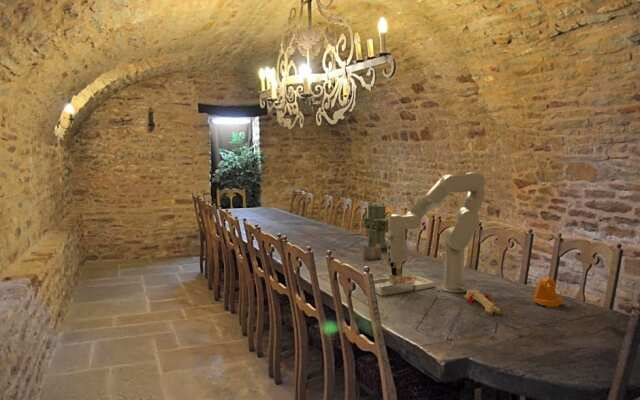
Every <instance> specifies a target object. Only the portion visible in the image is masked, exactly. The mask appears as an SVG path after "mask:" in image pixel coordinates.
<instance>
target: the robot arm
mask: <svg viewBox="0 0 640 400" xmlns="http://www.w3.org/2000/svg"><path fill="white" fill-rule="evenodd" d="M485 184H486V177H485V176H484V175H483V174H482V173H479V172H477V171H468V172H466V173H464V174H451V173H445V174H444V175H442V177H440V178H439V180H438V181H437V182H435V184H434V185H433V186H432V187H431V188H430V189H429V190H428V191H427V192H426V194H424V195H423V196H422V197H421V198H419V200H418V201H417V202H416V203H415V204H414V205H413V206H412V207H411V208H410V209H409V210H408V211H407V212H406V214H405V215H404V214H402V213H392V214H389V215H390V216H389V237H388V238H387V239H388V243H387V248H386V249H387V250H386V260H385V263H386V265H389V266H390V268H391V269H390V270H391V272H390V273H391V274H392V275H394V276H396V268H395V267H396V262H401V275H402V274H403V267H404V265H405V263H406V262H408V258H409V257H408V254H409V253H408V244H407V241H406V240H405V239H406V238H405V237H406V236H405V235H406V233H405V232H406V231H405V230H411V231H413V230H417V229H419V228H420V227H421V225H422V218H424V216H425V215H426V214H427V213H429V212H430V211H433V210H434V209H436V208H438V207H439V206H440V205H441V204H443V202H444V201H445V200H446V199H447V198H448V196H450V195H451V194H452V193H466V194H465V197H464V200H463V202H462V203H461V205H460V207H459V209H458V210H457V212H456V214H455V220H456V224H455V226H451V227H449V228H447V229H446V230H445V233H444V235H443V236H444V237H443V239H444V241H443V244H444V263H443V264H444V266H443V267H444V271H443V272H444V274H443V284H441V285H440V290H442V291H444V292H448V293H464V292H465V293H466V292H467V290H469V285H466V281H465V280H464V278H465V277H464V276H465V275H464V274H465V248H466V247H467V246H468V245H469V244H470V242H471V240H472V238H473V236H474V235H475V233H476V230H477V229H478V227H479V224H480V216H479V211H480V209H481V207H482V205H483V202H484V200H485V197H486V196H485V194H486V193H485V187H484V186H485Z"/></svg>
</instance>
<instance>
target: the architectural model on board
mask: <svg viewBox="0 0 640 400" xmlns="http://www.w3.org/2000/svg"><path fill="white" fill-rule="evenodd" d="M362 255H363V258H362V259H363V260H364V261H370V260H377V259H379V260H380V259H382V248H381V247H380V245H379V244H376V247H366V248H365V247H364V248H363V254H362Z"/></svg>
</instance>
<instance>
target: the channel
mask: <svg viewBox="0 0 640 400" xmlns="http://www.w3.org/2000/svg"><path fill="white" fill-rule="evenodd" d="M373 279H374V284H375V289H376V293H377V294H376V295H378V296H380V295H381V296H380V297H384V296H389V295H388V294H390V295H394V293H395V294H399V293H404V292H410V291H414V290H413V283H414V281H406V282H400V283H393V282H391V281H389V276H387V277H380V278H373ZM383 295H384V296H383Z"/></svg>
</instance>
